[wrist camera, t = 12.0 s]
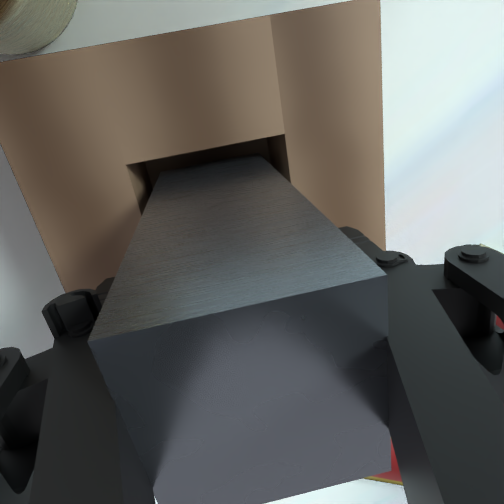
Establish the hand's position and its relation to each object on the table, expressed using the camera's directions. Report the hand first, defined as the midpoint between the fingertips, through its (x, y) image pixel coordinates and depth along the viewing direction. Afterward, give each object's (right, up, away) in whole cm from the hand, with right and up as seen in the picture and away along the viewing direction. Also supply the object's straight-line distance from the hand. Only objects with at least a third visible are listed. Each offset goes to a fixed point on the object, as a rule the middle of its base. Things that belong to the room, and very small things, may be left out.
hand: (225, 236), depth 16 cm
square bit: (-1, +2, +4) cm, 4 cm away
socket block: (-1, +3, +7) cm, 8 cm away
